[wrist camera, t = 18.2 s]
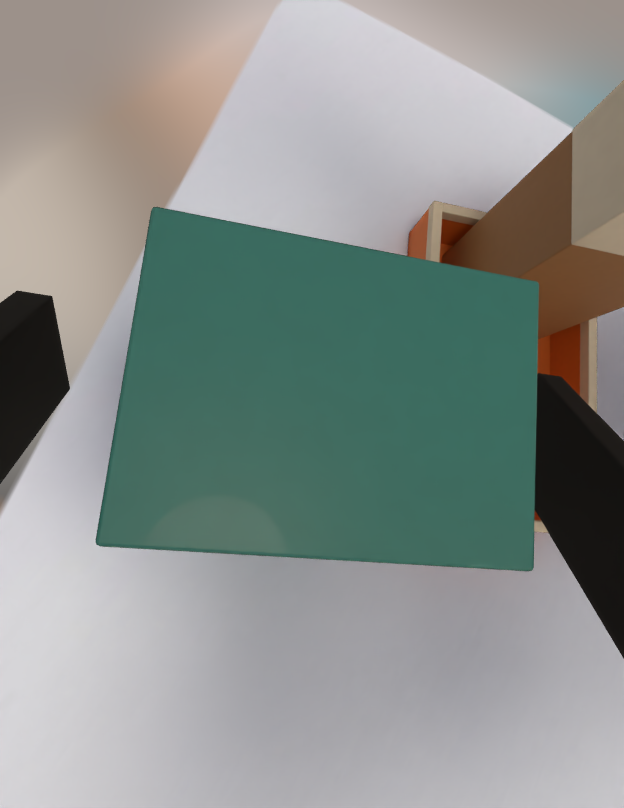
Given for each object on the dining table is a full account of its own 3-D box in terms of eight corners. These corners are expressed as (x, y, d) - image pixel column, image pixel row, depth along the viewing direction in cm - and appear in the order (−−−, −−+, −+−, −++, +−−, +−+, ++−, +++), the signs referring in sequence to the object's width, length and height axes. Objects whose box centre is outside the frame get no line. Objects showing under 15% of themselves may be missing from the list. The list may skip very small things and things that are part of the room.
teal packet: (326, 402, 22) (543, 279, 6) (318, 487, 21) (536, 575, 6) (213, 388, 21) (148, 201, 5) (201, 476, 20) (89, 550, 5)
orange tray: (553, 263, 26) (597, 237, 23) (549, 526, 24) (597, 536, 21) (408, 232, 24) (433, 200, 21) (388, 512, 22) (413, 522, 19)
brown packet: (530, 273, 25) (1013, -22, 10) (528, 344, 24) (1044, 150, 9) (441, 255, 24) (818, -110, 8) (436, 328, 23) (836, 78, 8)
